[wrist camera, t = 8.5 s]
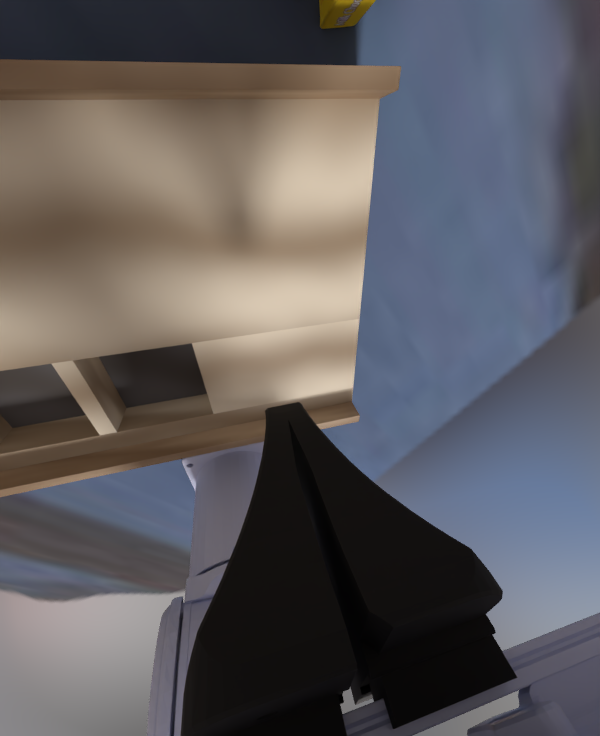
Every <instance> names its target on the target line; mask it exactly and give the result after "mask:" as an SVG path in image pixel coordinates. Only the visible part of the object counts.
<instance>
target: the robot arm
mask: <svg viewBox="0 0 600 736" xmlns="http://www.w3.org/2000/svg"><path fill="white" fill-rule="evenodd" d="M265 415H266V429H265V439H264V441H263V442H259V443H254V444H249V445H244V446H240V447H235V448H230V449H225V450H221V451H216V452H211V453H207V454H202V455H197V456H192V457H188V458H183V459H182V464H183V466H184V468H185V470H186V472H187V474H188V477H189V479H190V481H191V483H192V485H193V487H194V490H195V505H194V518H193V532H192V545H191V558H190V571H189V578H187V579H186V591H185V603H183V597H177V598H174V599H173V600H172V602H171V605H170V606H169V607H168V608H167V609H166V610H165V612H164V613H163V615H162V618H161V623H160V628H159V633H158V638H157V645H156V651H155V659H154V667H153V675H152V683H151V691H150V701H149V712H148V724H147V736H412V735H414V734H417V733H419V732H422V731H424V730H426V729H429V728H431V727H433V726H436V725H438V724H440V723H443V722H445V721H447V720H450V719H452V718H454V717H457V716H459V715H461V714H464V713H466V712H468V711H471V710H473V709H476V708H478V707H480V706H483V705H485V704H487V703H490V702H492V701H494V700H496V699H499V698H501V697H503V696H506V695H508V694H510V693H513V692H515V691H518V690H519V694H518V698H519V708H516V709H513V710H510V711H507V712H504V713H501V714H499V715H496V716H494V717H492V718H489V719H487V720H485V721H483V722H481V723H479V724H478V725H475V726H473V727H472V728H470V729H468V732H467V735H468V736H600V613H598V614H595V615H593V616H590V617H588V618H585V619H583V620H580V621H577V622H575V623H572V624H570V625H567V626H565V627H563V628H560V629H557V630H555V631H552V632H550V633H547V634H545V635H542V636H540V637H537V638H535V639H532V640H529V641H527V642H524V643H522V644H519V645H517V646H514V647H512V648H509V649H507V650H504V651H502V650H501V649H500V647H499V645H498V644H497V642H496V640H495V639H494V637H493V635H492V634H494V633H495V629H494V627H493V625H492V624H491V622H490V620H489V619H488V617H487V616H486V613H487V612H488V611H490V609H492V608H493V607H494V606H495V605H496V604H497V603H499V601H500V600H501V599H502V592H503V591H502V590H501V588H500V587H499V585H498V583H497V582H496V581H495V579H494V577H493V576H492V575H491V573H490V572H489V570H488V569H487V568H486V567H485V566H484V564H483V563H482V562H481V560H480V559H479V558H478V557H477V556H476V554H475V553H474V552H473V551H472V549H470V548H469V547H467V546H465V545H464V544H462V543H461V542H459V541H457V540H456V539H454V538H452V537H450V536H449V535H447V534H446V533H444V532H443V531H441V530H439V529H438V528H436V527H435V526H433V525H431V524H430V523H429V522H427V521H426V520H424V519H423V518H421V517H420V516H418V515H416V514H415V513H414V512H412V511H411V510H409V509H408V508H407V507H405V506H404V505H403V504H401V503H400V502H399V501H397V500H396V499H395V498H393V497H392V496H390V495H389V494H387V493H386V492H385V491H384V490H382V489H381V488H380V487H379V486H378V485H376V484H375V483H374V482H373V481H372V480H370V479H369V478H368V477H367V476H366V475H365V474H363V473H362V472H361V471H360V470H359V469H358V468H357V467H356V466H355V465H353V464H352V463H351V462H350V461H349V460H348V459H347V458H346V457H345V456H344V455H343V454H342V453H341V452H340V451H339V450H338V449H337V448H336V446H335V445H334V444H333V443H332V442H331V441H330V440H329V439H328V438H327V437H326V435H325V434H324V433H323V432H322V431H321V430H320V428H319V427H318V426H317V425H316V423H315V422H314V421H313V420H312V418H311V417H310V416H309V414H308V413H307V411H306V410H305V409H304V407H303V405H302V404H301V403H299V402H296V403H291V404H286V405H281V406H276V407H271V408H267V409H266V410H265ZM350 686H351V690H352V694H353V698H354V702H355V705H356V704H359V703H361V702H364V701H367V700H369V699H372V698H373V699H374V702H373V703H370V704H368V705H365V706H363V707H360V708H358V709H355V710H352V711H350V712H348V713H345V714H342V711H341V706H340V704H341V703H343V702H344V701H343V696H342V693H343V691H345V690H348V689H349V688H350Z"/></svg>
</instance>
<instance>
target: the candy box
mask: <svg viewBox="0 0 600 736" xmlns="http://www.w3.org/2000/svg"><path fill="white" fill-rule="evenodd" d="M375 1H376V0H319V6H320V27H321V28H322V29H327V28H338V27H348V26H354V25H355V24H357V23H358V21H359V20H360V19H361V17H362V16H363V15H364V14H365V13H366V11H367V10H368V9H369V8H370V7H371V5H372V4H373V3H374V2H375Z"/></svg>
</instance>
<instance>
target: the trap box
mask: <svg viewBox="0 0 600 736" xmlns="http://www.w3.org/2000/svg"><path fill="white" fill-rule="evenodd" d="M400 71H401V66H353V65H296V64H239V63H181V62H124V61H67V60H9V59H0V497H3V496H8V495H12V494H17V493H22V492H26V491H31V490H36V489H41V488H45V487H50V486H55V485H60V484H64V483H69V482H74V481H79V480H83V479H88V478H93V477H98V476H102V475H107V474H112V473H117V472H121V471H126V470H131V469H135V468H140V467H145V466H150V465H154V464H159V463H164V462H169V461H173V460H178V459H183V458H188V457H192V456H197V455H202V454H207V453H211V452H216V451H221V450H225V449H230V448H235V447H240V446H244V445H249V444H254V443H259V442H263V441H264V439H265V429H266V415H265V410H266V409H267V408H271V407H276V406H281V405H286V404H291V403H296V402H299V403H301V404H302V405H303V407H304V409H305V410H306V411H307V413H308V414H309V416H310V417H311V418H312V420H313V421H314V422H315V423H316V425H317V426H318V427H319V428H320V429H325V428H330V427H334V426H339V425H344V424H349V423H353V422H358V421H359V417H360V415H359V413H358V412H357V410H356V408H355V407H354V405H353V403H352V394H353V383H354V372H355V361H356V350H357V339H358V328H359V318H360V307H361V296H362V285H363V274H364V263H365V252H366V241H367V230H368V220H369V209H370V198H371V187H372V176H373V165H374V154H375V143H376V132H377V122H378V111H379V100H380V98H382V97H384V96H386V95H388V94H391V93H393V92H395V91H397V90H398V88H399V80H400Z"/></svg>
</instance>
